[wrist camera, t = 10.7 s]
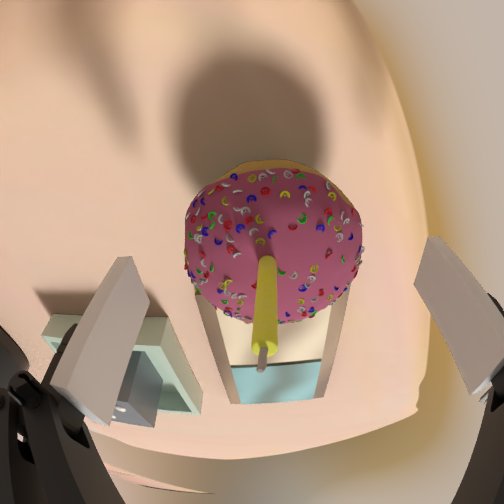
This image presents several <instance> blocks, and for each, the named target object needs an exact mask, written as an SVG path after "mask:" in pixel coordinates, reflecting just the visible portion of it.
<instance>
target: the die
mask: <svg viewBox="0 0 504 504" xmlns="http://www.w3.org/2000/svg"><path fill="white" fill-rule="evenodd" d="M162 384H163V379H162V377H161V376H160V374H159V373H158V371H157V370H156V368H155V367H154V365H153V364H152V362H151V360H150V359H149V357H148V356H147V354H146V352H145V351H132V354H131V357H130V360H129V363H128V366H127V369H126V372H125V375H124V378H123V381H122V384H121V388H120V391H119V394H118V398H117V401H116V405H115V408H114V412H113V415H112V419H111V420H112V421H117V422H122V423H128V424H133V425H139V426H146V427H153V428H154V426H155V420H156V415H157V409H158V404H159V399H160V394H161V389H162Z"/></svg>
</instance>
